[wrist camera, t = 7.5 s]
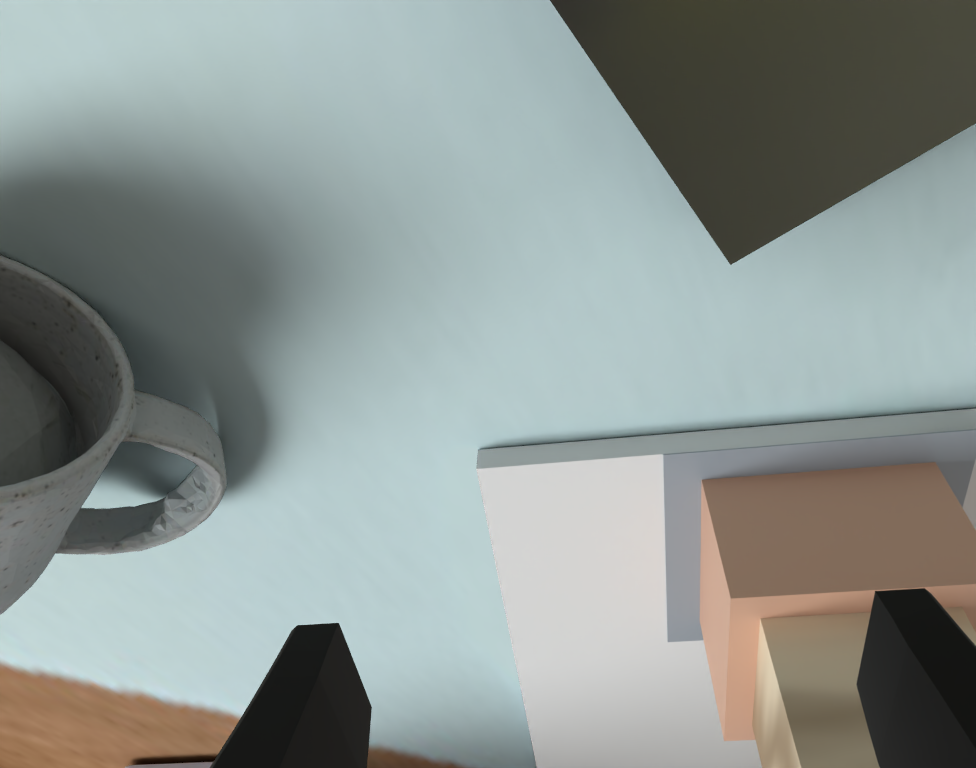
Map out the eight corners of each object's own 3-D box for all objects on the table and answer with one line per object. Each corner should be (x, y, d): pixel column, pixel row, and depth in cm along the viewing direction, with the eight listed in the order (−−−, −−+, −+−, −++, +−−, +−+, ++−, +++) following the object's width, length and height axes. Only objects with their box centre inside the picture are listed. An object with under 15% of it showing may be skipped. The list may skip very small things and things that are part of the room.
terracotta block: (900, 609, 25) (955, 731, 22) (699, 620, 26) (724, 741, 23) (935, 462, 22) (1006, 582, 18) (701, 479, 22) (730, 598, 19)
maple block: (929, 717, 22) (1010, 908, 18) (752, 725, 22) (795, 911, 18) (962, 606, 19) (1065, 802, 15) (760, 618, 19) (813, 811, 16)
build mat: (904, 770, 32) (912, 792, 31) (543, 783, 34) (543, 804, 33) (1010, 405, 21) (1025, 426, 21) (477, 449, 23) (476, 469, 22)
